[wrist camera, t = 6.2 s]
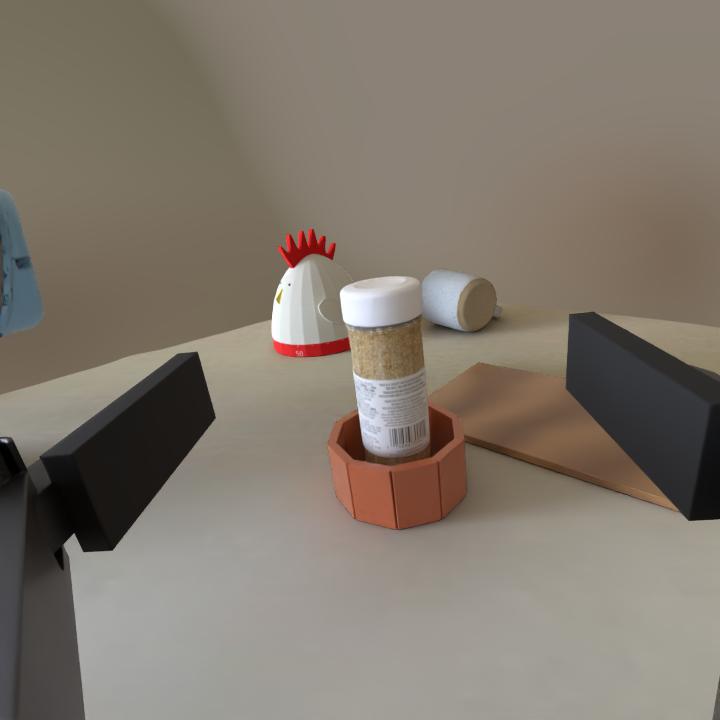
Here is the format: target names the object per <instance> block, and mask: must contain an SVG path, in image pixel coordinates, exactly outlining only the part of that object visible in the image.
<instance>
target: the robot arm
mask: <svg viewBox="0 0 720 720" xmlns="http://www.w3.org/2000/svg"><path fill="white" fill-rule="evenodd" d="M43 316H44V306H43V302H42V298H41V294H40V290H39V287H38V283H37V279H36V276H35V272H34V269H33V266H32V262H31V258H30V255H29V251H28V247H27V243H26V239H25V236H24V232H23V229H22V225H21V222H20V218H19V215H18V212H17V208H16V205H15V201H14V199H13V197H12V195H11V194H10V193H8V192H7V191H4V190H0V338H1V337H2V336H3V335H7V334H11V333H15V332H19V331H22V330H26V329H30V328H33V327H35V326H36V325H38V324H39V323H40V322H41V320H42V319H43ZM566 389H567V391H568V392H569V393H570V394H571V395H572V396H573V397H574V398H575V399H576V400H577V401H578V402H579V403H580V405H581V406H582V407H583V408H584V409H585V410H586V411H587V412H588V413H589V414H590V415H591V416H592V417H593V419H594V420H595V421H596V422H597V423H598V424H599V425H600V426H601V427H602V428H603V429H604V430H605V431H606V432H607V434H608V435H609V436H610V437H611V438H612V439H613V440H614V441H615V442H616V443H617V444H618V445H619V446H620V448H621V449H622V450H623V451H624V452H625V453H626V454H627V455H628V456H629V457H630V458H631V459H632V460H633V462H634V463H635V464H636V465H637V466H638V467H639V468H640V469H641V470H642V471H643V472H644V473H645V474H646V475H647V477H648V478H649V479H650V480H651V481H652V482H653V483H654V484H655V485H656V486H657V487H658V488H659V489H660V491H661V492H662V493H663V494H664V495H665V496H666V497H667V498H668V499H669V500H670V501H671V502H672V503H673V505H674V506H675V507H676V508H677V509H678V510H679V511H680V512H681V513H682V514H683V515H684V516H685V517H686V518H687V520H688V521H696V520H715V519H720V375H718V374H716V373H714V372H711V371H708V370H705V369H702V368H698V367H695V366H692V365H688V364H686V363H684V362H682V361H681V360H679V359H677V358H675V357H674V356H672V355H670V354H668V353H666V352H665V351H663V350H661V349H659V348H657V347H656V346H654V345H652V344H650V343H648V342H647V341H645V340H643V339H641V338H639V337H638V336H636V335H634V334H632V333H630V332H629V331H627V330H625V329H623V328H621V327H620V326H618V325H616V324H614V323H612V322H611V321H609V320H607V319H605V318H604V317H602V316H600V315H598V314H596V313H595V312H587V313H577V314H569V334H568V353H567V372H566ZM215 418H216V417H215V413H214V409H213V406H212V402H211V398H210V395H209V391H208V388H207V384H206V380H205V377H204V373H203V370H202V366H201V362H200V359H199V355H198V352H190V353H180V354H177V355H175V356H174V357H173V358H171V359H170V360H169V361H167V362H166V363H165V364H163V365H162V366H161V367H159V368H158V369H157V370H155V371H154V372H153V373H151V374H150V375H149V376H147V377H146V378H145V379H143V380H142V381H141V382H139V383H138V384H137V385H135V386H134V387H133V388H131V389H130V390H129V391H127V392H126V393H124V394H123V395H122V396H120V397H119V398H118V399H116V400H115V401H114V402H112V403H111V404H110V405H108V406H107V407H106V408H104V409H103V410H102V411H100V412H99V413H98V414H96V415H95V416H94V417H92V418H91V419H90V420H88V421H87V422H86V423H84V424H83V425H82V426H80V427H79V428H78V429H76V430H75V431H73V432H72V433H71V434H69V435H68V436H67V437H65V438H64V439H63V440H61V441H60V442H59V443H57V444H56V445H55V446H53V447H52V448H51V449H49V450H48V451H47V452H45V453H44V454H43V455H41V456H40V459H39V460H38V461H36V462H35V463H34V464H32V465H31V466H30V467H28V468H26V466H25V464H24V462H23V460H22V458H21V456H20V454H19V452H18V450H17V447H16V445H15V443H14V441H13V440H12V438H10V437H0V720H85V713H84V703H83V693H82V683H81V673H80V663H79V653H78V643H77V633H76V623H75V613H74V603H73V593H72V583H71V573H70V563H69V556H68V554H67V552H66V550H65V548H64V546H63V544H64V543H65V542H66V541H67V540H68V539H69V538H70V537H71V536H72V535H73V534H74V533H75V535H76V537H77V539H78V542H79V544H80V546H81V548H82V550H83V552H94V551H112V550H113V549H114V548H115V547H116V545H117V544H118V543H119V541H120V540H121V539H122V538H123V536H124V535H125V534H126V532H127V531H128V530H129V529H130V527H131V526H132V525H133V523H134V522H135V521H136V520H137V518H138V517H139V516H140V515H141V513H142V512H143V511H144V509H145V508H146V507H147V506H148V504H149V503H150V502H151V500H152V499H153V498H154V497H155V495H156V494H157V493H158V491H159V490H160V489H161V488H162V486H163V485H164V484H165V482H166V481H167V480H168V479H169V477H170V476H171V475H172V473H173V472H174V471H175V470H176V468H177V467H178V466H179V464H180V463H181V462H182V461H183V459H184V458H185V457H186V456H187V454H188V453H189V452H190V450H191V449H192V448H193V447H194V445H195V444H196V443H197V441H198V440H199V439H200V438H201V436H202V435H203V434H204V432H205V431H206V430H207V429H208V427H209V426H210V425H211V423H212V422H213V421H214V420H215ZM713 720H720V678H719V684H718V690H717V696H716V702H715V708H714V714H713Z"/></svg>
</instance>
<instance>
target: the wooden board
mask: <svg viewBox="0 0 720 720" xmlns="http://www.w3.org/2000/svg"><path fill="white" fill-rule="evenodd" d="M427 401H428V402H433V403H436V404H438V405H440V406H442V407H443V408H445V409H447V410H449V411H451V412H452V413H454V414H456V415H458V416H459V417H460V418H461V422H462V427H463V433H464V438H465V441H466V442H469V443H472V444H475V445H478V446H481V447H484V448H487V449H490V450H493V451H496V452H499V453H503V454H506V455H509V456H512V457H515V458H518V459H521V460H524V461H527V462H530V463H533V464H536V465H539V466H542V467H545V468H548V469H551V470H554V471H557V472H560V473H563V474H566V475H569V476H572V477H575V478H578V479H581V480H584V481H587V482H590V483H593V484H596V485H600V486H603V487H606V488H609V489H612V490H615V491H618V492H621V493H624V494H627V495H630V496H633V497H636V498H639V499H642V500H645V501H648V502H651V503H654V504H657V505H660V506H663V507H666V508H669V509H672V510H675V511H678V512H680V511H679V510H678V509H677V508H676V507H675V506H674V505H673V503H672V502H671V501H670V500H669V499H668V498H667V497H666V496H665V495H664V494H663V493H662V492H661V491H660V489H659V488H658V487H657V486H656V485H655V484H654V483H653V482H652V481H651V480H650V479H649V478H648V477H647V475H646V474H645V473H644V472H643V471H642V470H641V469H640V468H639V467H638V466H637V465H636V464H635V463H634V462H633V460H632V459H631V458H630V457H629V456H628V455H627V454H626V453H625V452H624V451H623V450H622V449H621V448H620V446H619V445H618V444H617V443H616V442H615V441H614V440H613V439H612V438H611V437H610V436H609V435H608V434H607V432H606V431H605V430H604V429H603V428H602V427H601V426H600V425H599V424H598V423H597V422H596V421H595V420H594V419H593V417H592V416H591V415H590V414H589V413H588V412H587V411H586V410H585V409H584V408H583V407H582V406H581V405H580V403H579V402H578V401H577V400H576V399H575V398H574V397H573V396H572V395H571V394H570V393H569V392H568V391H567V389H566V378H561V377H555V376H550V375H544V374H539V373H533V372H528V371H523V370H517V369H512V368H506V367H501V366H495V365H490V364H484V363H479V362H478V363H477V364H475V365H474V366H472V367H471V368H469V369H468V370H466V371H465V372H464V373H462V374H461V375H459V376H458V377H456V378H455V379H453V380H452V381H450V382H449V383H447V384H446V385H444V386H443V387H441V388H440V389H439V390H437V391H436V392H434V393H433V394H431V395H430V396H428V397H427Z"/></svg>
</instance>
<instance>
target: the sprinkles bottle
mask: <svg viewBox="0 0 720 720" xmlns="http://www.w3.org/2000/svg"><path fill="white" fill-rule="evenodd" d="M340 299H341V307H342V315H343V320H344V321H345V322H346V327H347V329H348V333H349V341H350V348H351V354H352V361H353V376H354V383H355V390H356V397H357V404H358V411H359V419H360V426H361V433H362V440H363V444H364V447H365V454H366V462H371V463H376V464H382V465H388V466H394V465H399V464H404V463H408V462H413V461H417V460H422V459H427V458H431V446H430V431H429V430H430V429H429V415H428V401H427V388H426V374H425V366H424V356H423V343H422V334H421V320H422V314H421V313H422V311H423V303H422V293H421V285H420V282H419V281H418V280H417V279H415V278H412V277H403V276H395V277H393V276H392V277H380V278H373V279H367V280H363V281H359V282H355V283H352V284H349V285H347V286H345V287H344V288H343V289H342V290H341V292H340Z"/></svg>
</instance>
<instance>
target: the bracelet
mask: <svg viewBox="0 0 720 720" xmlns="http://www.w3.org/2000/svg"><path fill="white" fill-rule="evenodd" d="M428 415H429V429H430V430H429V431H430V446H431V454H433V455H434V456H433V457H431V458H427V459H422V460H417V461H413V462H408V463H404V464H399V465H394V466H388V465H382V464H376V463H371V462H365V461H366V454H365V447H364V444H363V440H362V433H361V426H360V419H359V411H358V409H356V410H354V411H353V412H351V413H349V414H348V415H346V416H344V417H343V418H341V419H339V420H338V421H336V423H335V424H334V426H333V429H332V432H331V435H330V437H329V440H328V443H327V446H328V451H329V457H330V463H331V469H332V474H333V480H334V486H335V492H336V497H337V498H338V499H339V500H340V502H341V503H342V504H343V505H344V507H345V508H346V509H347V510H348V511H349V513H350V514H351V515H352V516H353V518H354V519H356V520H358V521H362V522H366V523H370V524H374V525H378V526H382V527H386V528H390V529H395V530H396V529H397V527H398V529H399V530H400V529H405V528H409V527H413V526H417V525H421V524H426V523H430V522H434V521H438V520H441V518H444V517H445V516H446V515H447V514H448V513H449V512H450V511H451V510H452V509H453V508H454V507H455V506H456V505H457V504H458V503H459V502H460V501H461V500H462V499H463V497H464V496H465V495H466V493H467V487H466V461H465V438H464V433H463V427H462V422H461V418H460V417H459V416H458V415H456V414H454V413H452V412H451V411H449V410H447V409H445V408H443V407H442V406H440V405H438V404H436V403H433V402H428Z"/></svg>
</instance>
